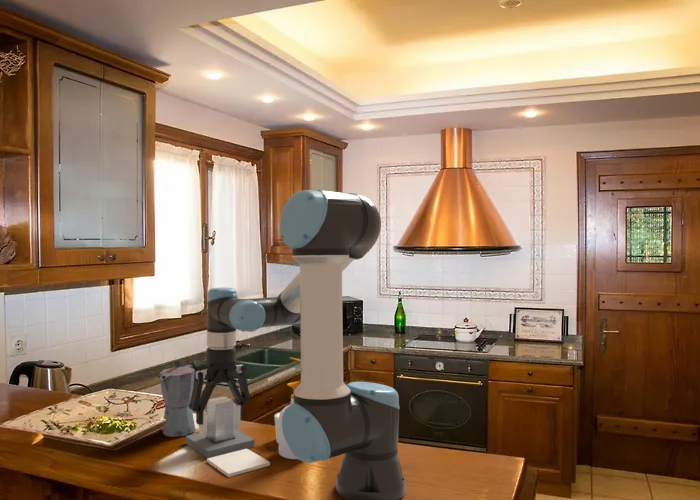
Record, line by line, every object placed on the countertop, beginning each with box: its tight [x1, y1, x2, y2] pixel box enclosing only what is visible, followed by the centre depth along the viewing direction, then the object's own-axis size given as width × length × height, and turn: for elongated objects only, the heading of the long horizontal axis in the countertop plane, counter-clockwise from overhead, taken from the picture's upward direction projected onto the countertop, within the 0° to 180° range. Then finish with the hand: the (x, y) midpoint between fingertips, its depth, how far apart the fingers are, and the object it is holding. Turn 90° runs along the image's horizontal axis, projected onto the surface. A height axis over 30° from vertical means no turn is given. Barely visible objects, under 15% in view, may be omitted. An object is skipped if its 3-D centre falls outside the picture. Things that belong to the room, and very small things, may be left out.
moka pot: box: [158, 360, 199, 438], centre depth 157 cm, size 10×15×20 cm, turn 163°
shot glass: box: [273, 411, 281, 444], centre depth 152 cm, size 7×7×7 cm
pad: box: [206, 448, 271, 478], centre depth 136 cm, size 11×11×1 cm
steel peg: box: [206, 395, 235, 444], centre depth 148 cm, size 5×5×12 cm
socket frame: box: [185, 428, 255, 460], centre depth 148 cm, size 13×13×2 cm
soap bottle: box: [278, 356, 301, 460], centre depth 143 cm, size 9×9×25 cm
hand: (219, 432), depth 148 cm, fingers open, 9 cm apart
